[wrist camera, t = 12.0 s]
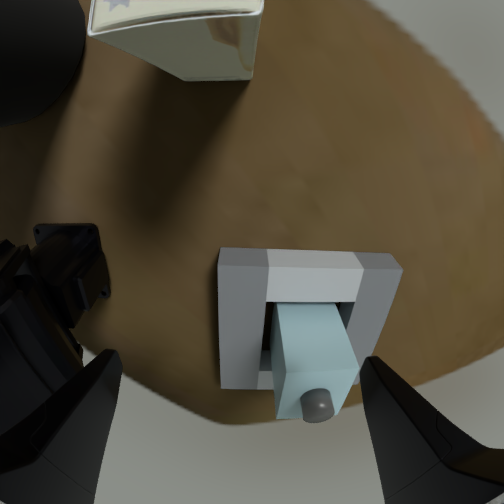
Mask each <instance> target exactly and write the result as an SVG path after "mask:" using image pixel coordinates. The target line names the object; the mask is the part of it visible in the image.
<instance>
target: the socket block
mask: <svg viewBox="0 0 504 504" xmlns="http://www.w3.org/2000/svg"><path fill="white" fill-rule="evenodd" d="M402 272H403V269H402V267H401V266H400V265H399V264H398V263H397V261H396V260H395V259H394V258H393V257H392V255H391V254H390V253H368V252H341V251H314V250H285V249H256V248H227V247H221V248H220V254H219V260H218V314H219V348H220V375H221V389H274V387H273V376H272V365H271V354H270V350H261V347H262V338H263V328H264V317H265V307H266V302H341V303H340V307H339V311H338V312H339V315H340V317H341V320H342V322H343V325H344V328H345V330H346V333H347V335H348V338H349V341H350V343H351V346H352V349H353V351H354V354H355V357H356V359H357V362H358V365H359V368H360V369H361V367H362V364H363V362H364V360H365V358H366V357H367V356H371V354H372V352H373V350H374V347H375V345H376V343H377V340H378V338H379V335H380V333H381V330H382V328H383V325H384V323H385V320H386V318H387V315H388V312H389V310H390V307H391V304H392V302H393V299H394V296H395V293H396V290H397V287H398V284H399V281H400V278H401V275H402ZM360 369H359V371H358V373H357V375H356V377H355V380H354V382H353V384H352V385H355V384H358V382H359V380H360V377H359V372H360Z"/></svg>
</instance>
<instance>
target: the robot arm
mask: <svg viewBox="0 0 504 504" xmlns="http://www.w3.org/2000/svg"><path fill="white" fill-rule="evenodd" d="M38 229H39V231H40V232H39V231H38ZM90 229H92V230H93V233H92V232H91V231H90ZM33 232H34V236H35V240H36V244H37V245H36V246H35V247H34V248H33V249H32V250H31V251H30V249H29V246H28V244H25V245H22V246H19V247H16V246H15V245H13V244H12V243H11V242H9V241H8V240H7V239H5V240H2V241H1V242H0V504H94V498H95V493H96V487H97V483H98V478H99V473H100V468H101V464H102V459H103V455H104V451H105V447H106V443H107V439H108V435H109V431H110V427H111V423H112V420H113V416H114V412H115V408H116V404H117V399H118V393H119V387H120V381H121V375H122V363H121V360H120V357H119V355H118V352H117V351H116V350H114V349H105V350H104V351H102V352H101V353H100V354H99V355H98V356H97V357H95V358H94V359H93V360H92V361H91V362H90V363H88V364H87V365H86V366H85V367H84V366H83V361H82V358H83V348H82V347H81V345H80V344H78V343H77V341H76V340H75V338H74V336H73V335H72V333H71V332H70V330H69V328H75V326H76V324H77V323H78V321H79V320H80V318H81V316H82V315H83V313H84V312H85V311H89V310H90V309H91V307H92V306H93V304H94V302H95V301H96V299H97V298H108V297H109V295H110V293H111V291H110V287H109V282H108V281H109V276H108V272H107V267H106V262H105V257H104V253H103V251H102V249H101V244H100V238H99V232H98V228H97V226H96V225H95V224H92V223H65V224H37V225H36V226H35V227H34V228H33ZM103 291H105V292H106V293H104V292H103ZM359 377H360V384H361V391H362V398H363V405H364V411H365V415H366V419H367V423H368V427H369V431H370V436H371V440H372V444H373V448H374V452H375V457H376V462H377V466H378V471H379V475H380V480H381V485H382V490H383V495H384V500H385V504H504V449H493V448H488V447H486V446H484V445H482V444H480V443H479V442H477V441H476V440H474V439H473V438H472V437H470V436H469V435H468V434H466V433H465V432H464V431H462V430H461V429H459V428H458V427H457V426H456V425H454V424H453V423H452V422H451V421H449V420H448V419H447V418H446V417H445V416H444V415H442V414H441V413H440V412H439V411H437V409H436V408H435V407H434V406H432V405H431V404H430V403H429V402H428V401H427V400H426V399H424V398H423V397H422V396H421V395H420V394H419V393H418V392H417V391H416V390H415V389H414V388H412V387H411V386H410V385H409V384H408V383H407V382H406V381H405V380H404V379H402V378H401V377H400V376H399V375H398V374H397V373H396V372H395V371H394V370H392V369H391V368H390V367H389V366H388V365H387V364H386V363H385V362H383V361H382V360H381V359H380V358H379V357H378V356H367V357H366V358H365V360H364V362H363V364H362V367H361V369H360V372H359Z"/></svg>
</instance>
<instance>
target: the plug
mask: <svg viewBox="0 0 504 504" xmlns="http://www.w3.org/2000/svg"><path fill="white" fill-rule="evenodd" d="M269 344H270V354H271V365H272V376H273V387H274V398H275V410H276V419H290V418H303V420H304V421H306V422H308V423H319V422H323V421H326V420H328V419H330V418H331V417H332V416H333V415H337V414H338V412H339V410H340V408H341V406H342V404H343V402H344V400H345V398H346V396H347V394H348V392H349V390H350V388H351V386H352V384H353V382H354V380H355V377H356V375H357V373H358V371H359V369H360V368H359V365H358V362H357V359H356V357H355V354H354V351H353V349H352V346H351V343H350V341H349V338H348V335H347V333H346V330H345V328H344V325H343V322H342V320H341V317H340V315H339V312H338V310H337V307H336V305H335V302H274V308H273V316H272V325H271V333H270V342H269Z"/></svg>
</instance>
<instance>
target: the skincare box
mask: <svg viewBox="0 0 504 504" xmlns="http://www.w3.org/2000/svg"><path fill="white" fill-rule="evenodd" d="M263 8H264V0H92V1H91V7H90V15H89V23H88V29H87V32H88V36H89V37H92V38H94V39H97V40H99V41H102V42H104V43H107V44H109V45H111V46H113V47H116V48H118V49H120V50H123V51H125V52H127V53H129V54H131V55H134V56H136V57H138V58H140V59H142V60H144V61H146V62H148V63H150V64H153V65H155V66H157V67H159V68H160V69H162V70H164V71H166V72H168V73H170V74H172V75H174V76H176V77H178V78H180V79H182V80H183V81H229V80H250V79H252V76H253V67H254V60H255V53H256V45H257V39H258V33H259V27H260V21H261V16H262V12H263Z"/></svg>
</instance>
